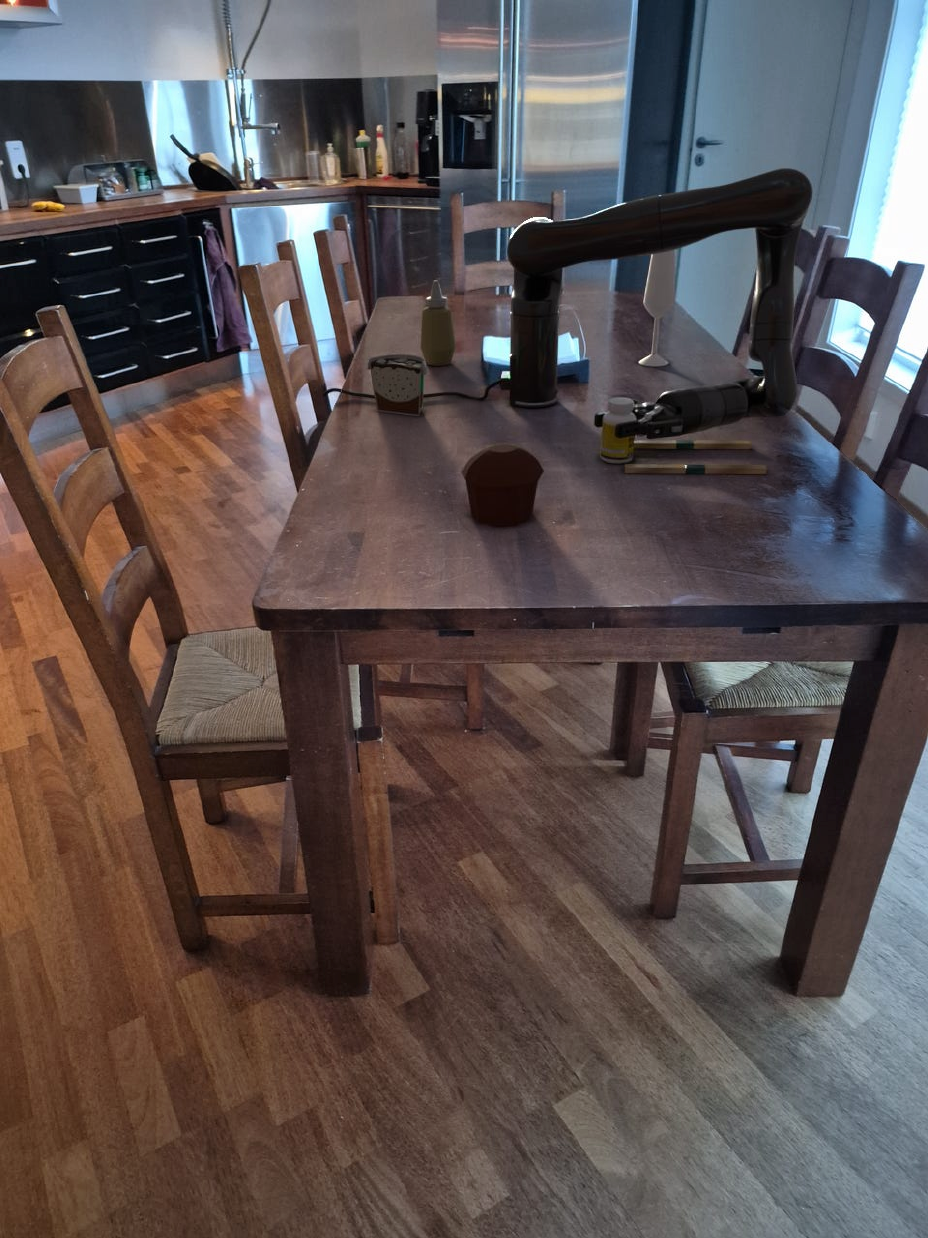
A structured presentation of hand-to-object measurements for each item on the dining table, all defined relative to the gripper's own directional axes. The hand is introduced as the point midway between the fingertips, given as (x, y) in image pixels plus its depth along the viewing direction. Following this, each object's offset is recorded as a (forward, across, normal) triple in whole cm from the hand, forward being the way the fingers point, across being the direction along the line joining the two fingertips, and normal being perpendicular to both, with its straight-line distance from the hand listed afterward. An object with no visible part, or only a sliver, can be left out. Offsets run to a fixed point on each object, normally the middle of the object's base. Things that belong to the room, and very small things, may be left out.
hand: (606, 426), depth 140 cm
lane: (-13, +6, +6) cm, 15 cm away
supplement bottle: (-3, 0, +6) cm, 7 cm away
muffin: (+25, +11, +6) cm, 28 cm away
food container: (+18, -43, +6) cm, 47 cm away
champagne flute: (-45, -47, +6) cm, 65 cm away
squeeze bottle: (-2, -72, +6) cm, 72 cm away
